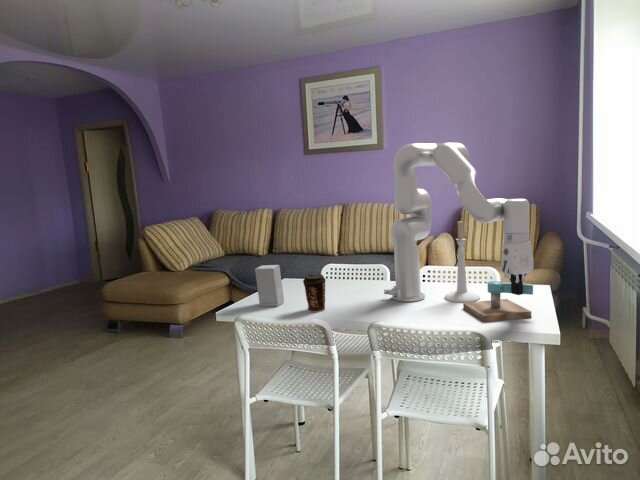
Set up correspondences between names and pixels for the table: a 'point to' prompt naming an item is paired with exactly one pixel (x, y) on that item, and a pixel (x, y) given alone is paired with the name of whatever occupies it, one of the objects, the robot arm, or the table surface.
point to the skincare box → (269, 285)
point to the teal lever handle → (507, 288)
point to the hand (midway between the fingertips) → (516, 293)
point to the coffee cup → (315, 292)
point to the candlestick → (461, 275)
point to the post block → (496, 309)
